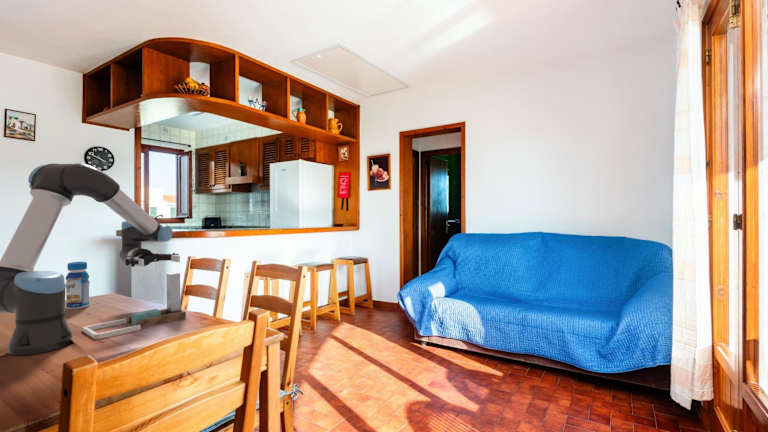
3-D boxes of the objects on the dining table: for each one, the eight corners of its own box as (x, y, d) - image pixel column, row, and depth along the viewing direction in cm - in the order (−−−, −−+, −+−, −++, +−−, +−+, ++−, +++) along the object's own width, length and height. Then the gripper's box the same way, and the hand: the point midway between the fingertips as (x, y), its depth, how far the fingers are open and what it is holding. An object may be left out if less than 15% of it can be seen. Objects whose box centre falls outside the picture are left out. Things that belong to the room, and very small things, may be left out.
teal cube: (136, 326, 135) (135, 315, 135) (131, 324, 137) (131, 313, 137) (148, 323, 138) (148, 313, 138) (143, 322, 140) (143, 311, 140)
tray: (95, 344, 121) (95, 334, 121) (81, 335, 130) (81, 327, 129) (140, 333, 131) (140, 325, 131) (125, 326, 140) (125, 318, 140)
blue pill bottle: (93, 306, 170) (92, 262, 170) (70, 310, 163) (69, 264, 163) (85, 304, 174) (84, 260, 174) (62, 308, 167) (61, 262, 167)
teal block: (149, 323, 138) (148, 312, 138) (144, 321, 140) (144, 311, 140) (160, 321, 141) (160, 310, 141) (156, 319, 144) (156, 308, 144)
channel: (139, 332, 132) (138, 321, 132) (127, 327, 139) (126, 316, 139) (185, 322, 145) (185, 311, 145) (172, 317, 152) (172, 307, 152)
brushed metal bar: (172, 319, 144) (171, 274, 143) (165, 316, 147) (165, 273, 147) (181, 317, 146) (181, 273, 146) (175, 314, 150) (174, 272, 150)
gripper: (170, 262, 176) (192, 266, 163) (106, 269, 156) (126, 274, 143) (170, 246, 176) (192, 248, 163) (106, 251, 156) (126, 254, 143)
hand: (161, 260), depth 153 cm, fingers open, 13 cm apart
